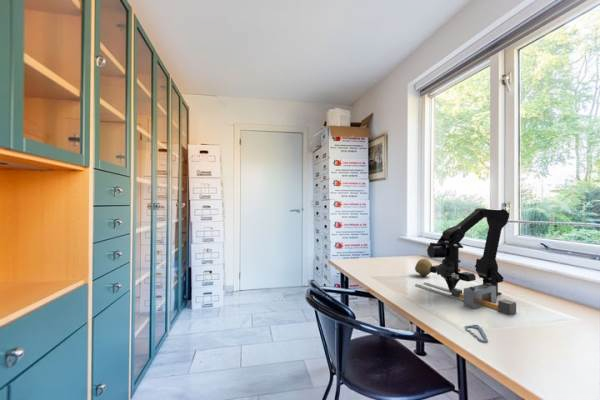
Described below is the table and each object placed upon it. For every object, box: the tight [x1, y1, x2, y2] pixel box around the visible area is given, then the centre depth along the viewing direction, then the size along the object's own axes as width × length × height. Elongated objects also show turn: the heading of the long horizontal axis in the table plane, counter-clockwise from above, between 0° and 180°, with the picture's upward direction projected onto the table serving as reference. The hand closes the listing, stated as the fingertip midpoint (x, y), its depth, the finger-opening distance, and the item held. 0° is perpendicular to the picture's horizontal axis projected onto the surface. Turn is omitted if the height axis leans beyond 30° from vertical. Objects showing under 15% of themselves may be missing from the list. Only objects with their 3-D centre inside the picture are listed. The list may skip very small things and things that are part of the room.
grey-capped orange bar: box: [451, 287, 517, 316], centre depth 114 cm, size 24×4×4 cm, turn 28°
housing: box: [414, 281, 497, 310], centre depth 126 cm, size 16×32×8 cm, turn 28°
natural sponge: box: [414, 258, 433, 277], centre depth 157 cm, size 9×9×10 cm
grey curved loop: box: [464, 324, 489, 344], centre depth 88 cm, size 12×1×5 cm
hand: (451, 291), depth 126 cm, fingers closed
